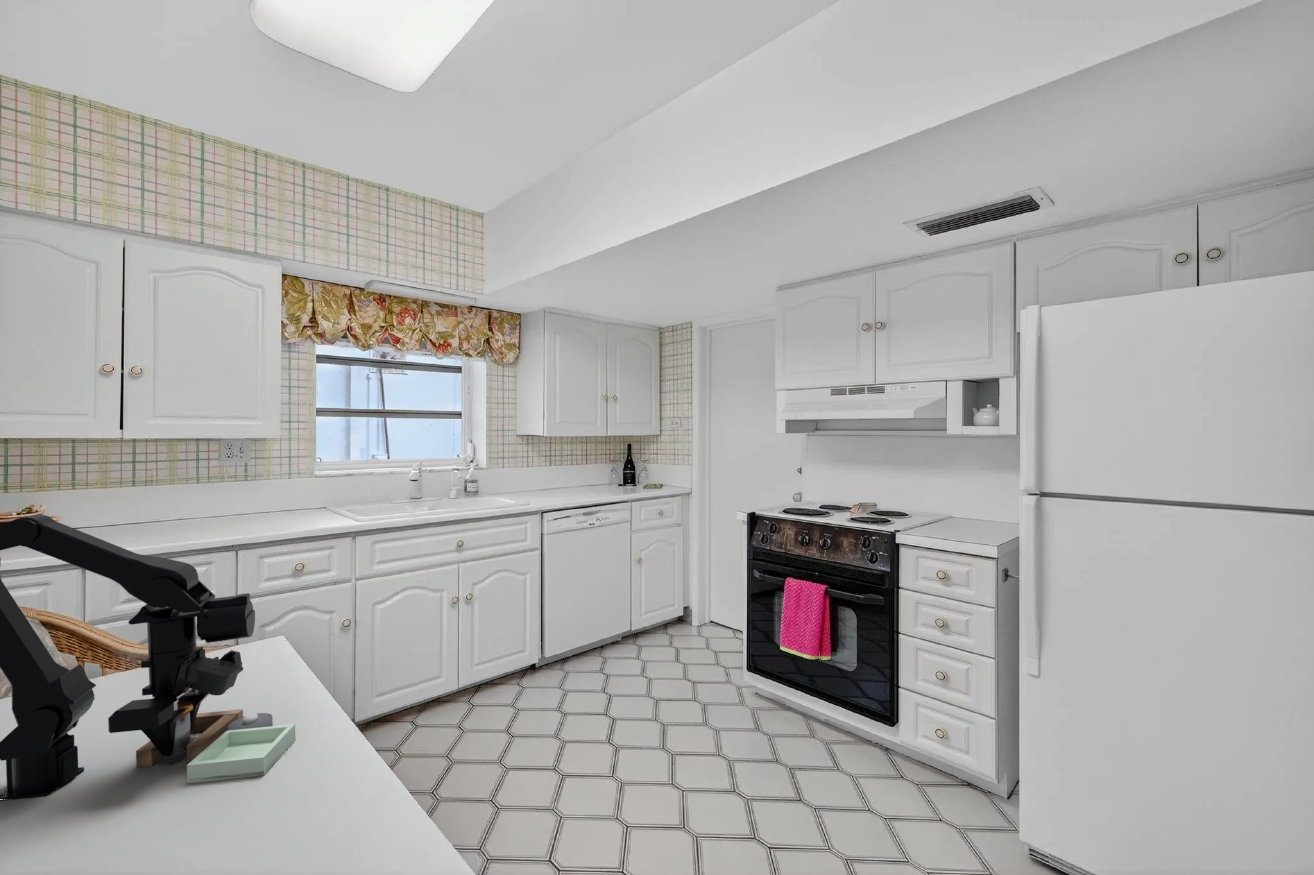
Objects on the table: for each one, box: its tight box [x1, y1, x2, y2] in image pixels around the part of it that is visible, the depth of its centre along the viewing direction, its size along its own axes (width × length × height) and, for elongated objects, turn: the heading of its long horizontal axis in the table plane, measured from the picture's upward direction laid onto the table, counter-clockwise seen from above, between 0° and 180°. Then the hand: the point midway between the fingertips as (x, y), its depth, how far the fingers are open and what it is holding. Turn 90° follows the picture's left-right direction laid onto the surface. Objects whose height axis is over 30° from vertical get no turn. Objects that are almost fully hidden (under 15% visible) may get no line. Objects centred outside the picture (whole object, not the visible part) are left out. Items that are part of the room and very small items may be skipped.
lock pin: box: [160, 701, 193, 766], centre depth 91 cm, size 4×4×8 cm
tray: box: [186, 723, 297, 784], centre depth 89 cm, size 10×10×3 cm
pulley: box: [228, 712, 274, 730], centre depth 97 cm, size 6×6×3 cm
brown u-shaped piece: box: [135, 708, 244, 768], centre depth 95 cm, size 9×12×2 cm
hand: (176, 748), depth 91 cm, fingers open, 4 cm apart
